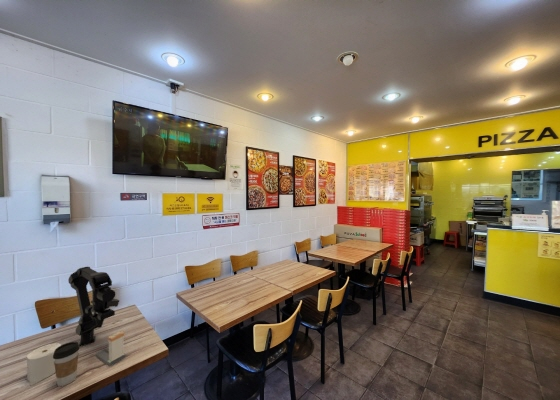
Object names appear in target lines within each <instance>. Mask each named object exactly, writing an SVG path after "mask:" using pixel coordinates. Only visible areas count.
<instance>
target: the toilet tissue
mask: <svg viewBox="0 0 560 400" xmlns="http://www.w3.org/2000/svg"><path fill="white" fill-rule="evenodd" d="M61 345H62V344H61V343H58V342H57V343H49V344H46V345H43V346H40V347H38V348H36V349H35V350H32V351H31V352H30V353H28V354H27V357H26V359H27V360H26V368H27V369H26V372H27V373H26V376H27V377H26V378H27V379H26V380H27V381H28V382H29V386H33V385H35V384H37V383H39V382H41V381H43V380H45V379H47V378H48V377H51V376H52V375H54V374H56V372H55V365H54V361H55V360H54V358H53V354H54V351H55V349H56V348H58V347H59V346H61Z"/></svg>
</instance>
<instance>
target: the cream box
mask: <svg viewBox="0 0 560 400" xmlns="http://www.w3.org/2000/svg"><path fill="white" fill-rule="evenodd" d="M124 334H125V333H124V332H123V331H120V330H119V331H118V332H116V333H113V334H111V335H109V336H108V347H109V359H110V360H111V361H113V360H115V359H117V358H119V357H120V356H122V355H124V354H125V352H124V351H125V350H124V348H125V347H124V345H125V343H124V338H125V337H124V336H125V335H124Z"/></svg>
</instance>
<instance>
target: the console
mask: <svg viewBox="0 0 560 400" xmlns="http://www.w3.org/2000/svg"><path fill="white" fill-rule="evenodd" d="M126 357H127V354H126V353H124V355H122V356H120V357H119V358H117V359H115V360H113V361H111V360H110V359H109V346H108V347H106V348H104V349H103V350H101V351H98V352H96V353H95V358H97V359H98V360H99V361H101V362H102V363H104V364H105V365H107V367H112V366H113V365H114V364H117V363H118V362H120V361H122V360H123V359H125V358H126Z"/></svg>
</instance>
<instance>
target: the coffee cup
mask: <svg viewBox="0 0 560 400" xmlns="http://www.w3.org/2000/svg"><path fill="white" fill-rule="evenodd" d="M80 347H81V346H79V342H77V341H70V342H66V343H64V344H61V346H59V347H58V348H56V349H55V351H54V354H53V358H54V360H55V361H54V365H55V376H56V384H57V387H63V386H67V385H68V384H70V383H73V381H75V380H76V378H77V373H78V372H77V370H78V369H77V368H78V361H79V354H80V353H79V350H80Z"/></svg>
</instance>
